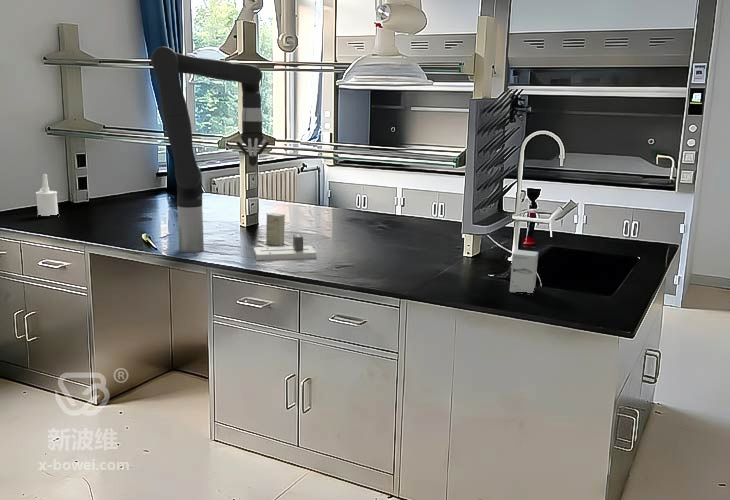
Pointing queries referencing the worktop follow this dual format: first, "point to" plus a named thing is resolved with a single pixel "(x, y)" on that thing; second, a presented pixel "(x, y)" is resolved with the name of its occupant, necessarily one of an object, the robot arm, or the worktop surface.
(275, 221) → the skincare box
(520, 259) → the supplement box
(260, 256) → the fader console
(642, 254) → the worktop surface
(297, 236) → the fader cap
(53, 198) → the white nozzle bottle
